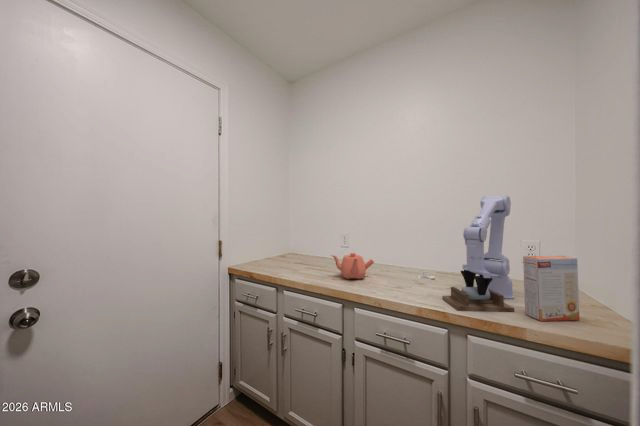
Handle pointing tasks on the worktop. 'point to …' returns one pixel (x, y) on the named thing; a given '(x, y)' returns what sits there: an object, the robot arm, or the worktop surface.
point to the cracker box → (551, 288)
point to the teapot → (353, 266)
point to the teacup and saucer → (426, 275)
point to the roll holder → (477, 302)
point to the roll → (475, 293)
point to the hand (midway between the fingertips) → (475, 291)
